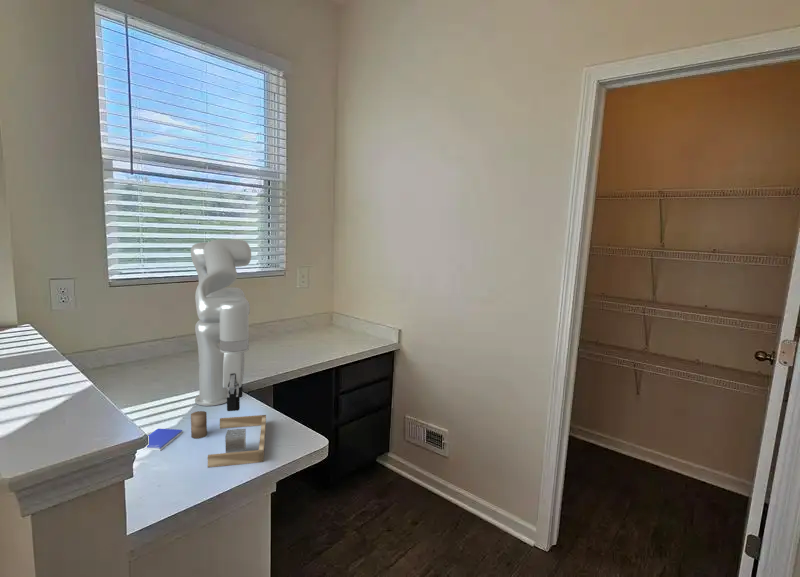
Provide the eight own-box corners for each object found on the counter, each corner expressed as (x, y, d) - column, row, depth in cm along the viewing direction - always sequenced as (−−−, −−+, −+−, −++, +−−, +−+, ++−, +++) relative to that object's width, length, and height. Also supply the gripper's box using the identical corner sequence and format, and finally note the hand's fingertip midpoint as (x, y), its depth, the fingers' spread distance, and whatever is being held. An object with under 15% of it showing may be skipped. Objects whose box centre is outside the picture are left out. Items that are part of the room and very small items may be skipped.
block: (227, 449, 130) (227, 430, 129) (245, 448, 131) (245, 428, 130) (225, 457, 125) (225, 436, 125) (244, 455, 127) (244, 435, 126)
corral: (220, 427, 145) (220, 418, 144) (266, 423, 149) (266, 414, 148) (207, 467, 119) (207, 456, 119) (263, 461, 123) (263, 451, 123)
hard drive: (160, 447, 128) (182, 429, 140) (132, 446, 128) (156, 428, 140) (160, 452, 128) (182, 434, 140) (132, 451, 128) (157, 433, 141)
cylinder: (192, 433, 140) (192, 411, 139) (207, 431, 141) (207, 410, 140) (190, 439, 136) (189, 417, 135) (205, 438, 137) (205, 416, 136)
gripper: (223, 337, 132) (224, 393, 134) (215, 353, 115) (216, 417, 118) (250, 337, 134) (250, 392, 136) (246, 352, 117) (246, 415, 120)
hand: (235, 403), depth 127 cm, fingers open, 9 cm apart
